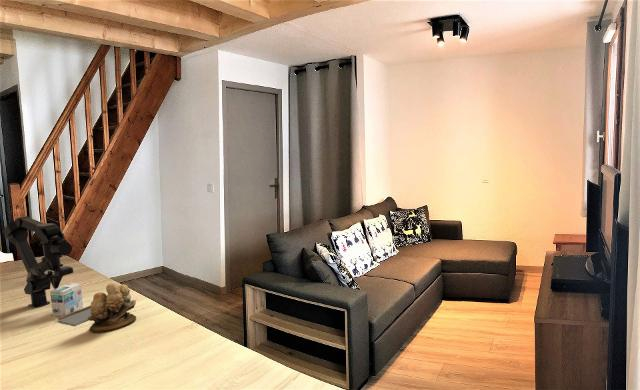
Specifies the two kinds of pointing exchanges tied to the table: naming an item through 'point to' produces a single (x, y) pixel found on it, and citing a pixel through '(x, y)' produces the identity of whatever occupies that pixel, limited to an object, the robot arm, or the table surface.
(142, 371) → the table surface
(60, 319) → the walnut kerb
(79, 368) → the table surface
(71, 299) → the light bulb box
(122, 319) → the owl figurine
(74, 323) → the rubber mat
